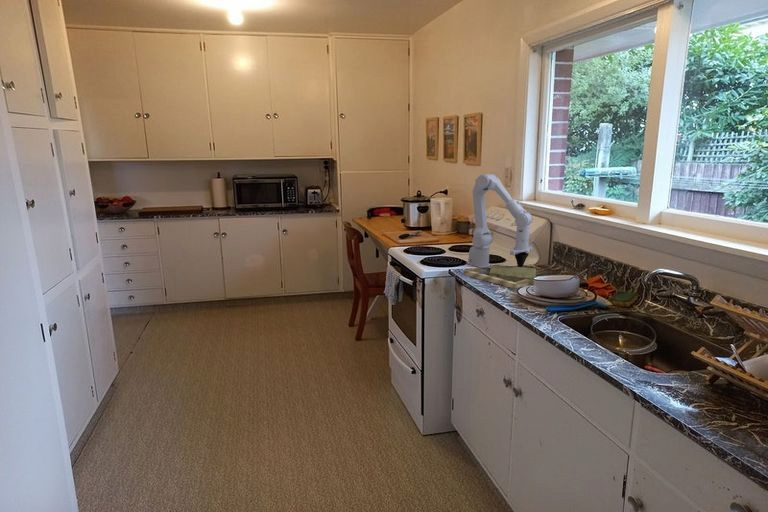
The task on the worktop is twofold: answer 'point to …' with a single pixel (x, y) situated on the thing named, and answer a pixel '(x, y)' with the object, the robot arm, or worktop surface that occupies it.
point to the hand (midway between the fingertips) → (519, 268)
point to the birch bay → (494, 279)
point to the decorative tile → (513, 273)
